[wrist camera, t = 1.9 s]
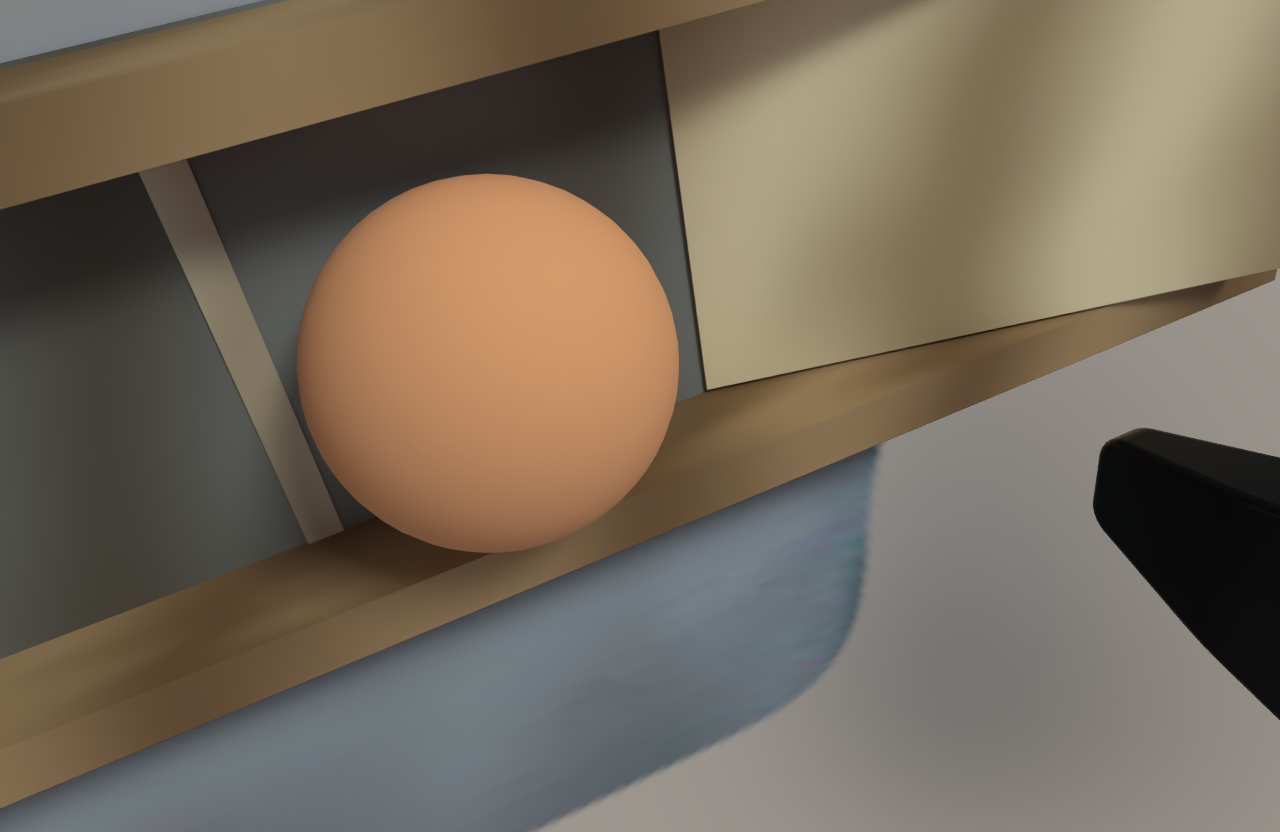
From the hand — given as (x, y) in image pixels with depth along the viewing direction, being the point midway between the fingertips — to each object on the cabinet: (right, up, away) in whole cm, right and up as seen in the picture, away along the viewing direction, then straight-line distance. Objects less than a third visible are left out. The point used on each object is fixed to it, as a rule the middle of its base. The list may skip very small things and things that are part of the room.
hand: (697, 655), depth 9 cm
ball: (-3, +3, +5) cm, 6 cm away
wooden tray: (-1, +5, +8) cm, 9 cm away
